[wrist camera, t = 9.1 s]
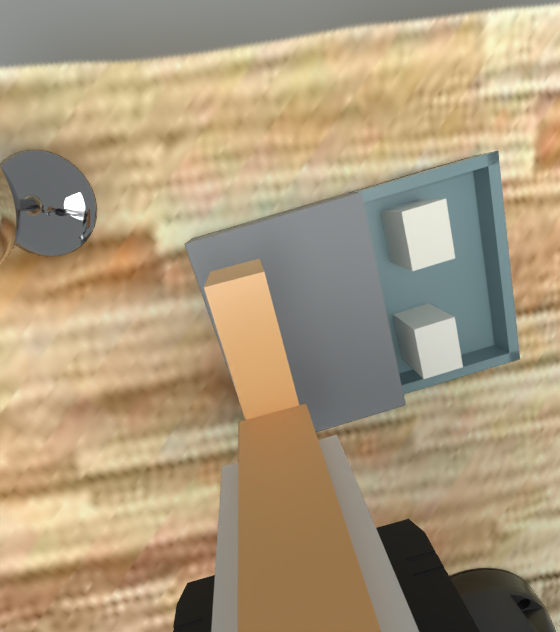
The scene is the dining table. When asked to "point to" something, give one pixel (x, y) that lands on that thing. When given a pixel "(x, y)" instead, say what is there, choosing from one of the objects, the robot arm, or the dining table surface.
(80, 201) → the wine glass
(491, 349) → the blue-grey flat tray
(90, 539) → the dining table surface
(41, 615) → the dining table surface
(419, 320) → the white cube block
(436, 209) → the white rectangular block
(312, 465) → the orange t-shaped block
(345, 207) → the grey drawer housing
